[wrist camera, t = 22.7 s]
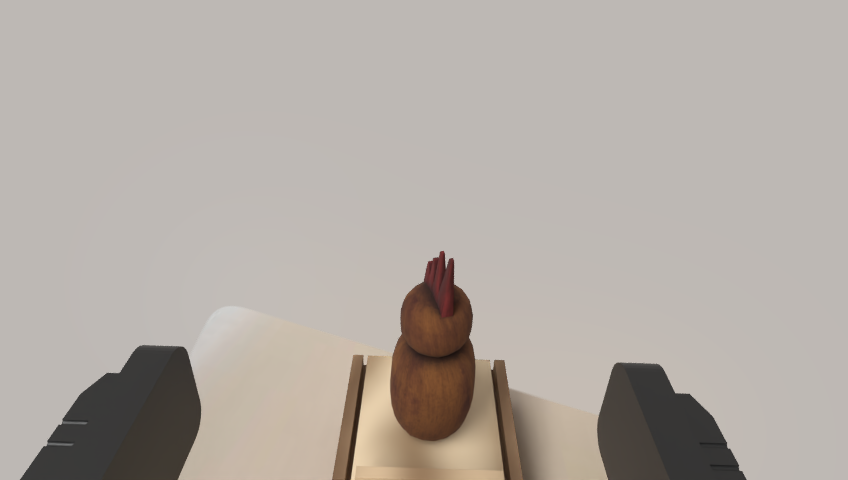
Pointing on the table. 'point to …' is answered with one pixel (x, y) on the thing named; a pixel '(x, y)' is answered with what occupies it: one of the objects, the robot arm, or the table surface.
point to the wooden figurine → (434, 356)
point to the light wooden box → (353, 414)
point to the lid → (420, 459)
